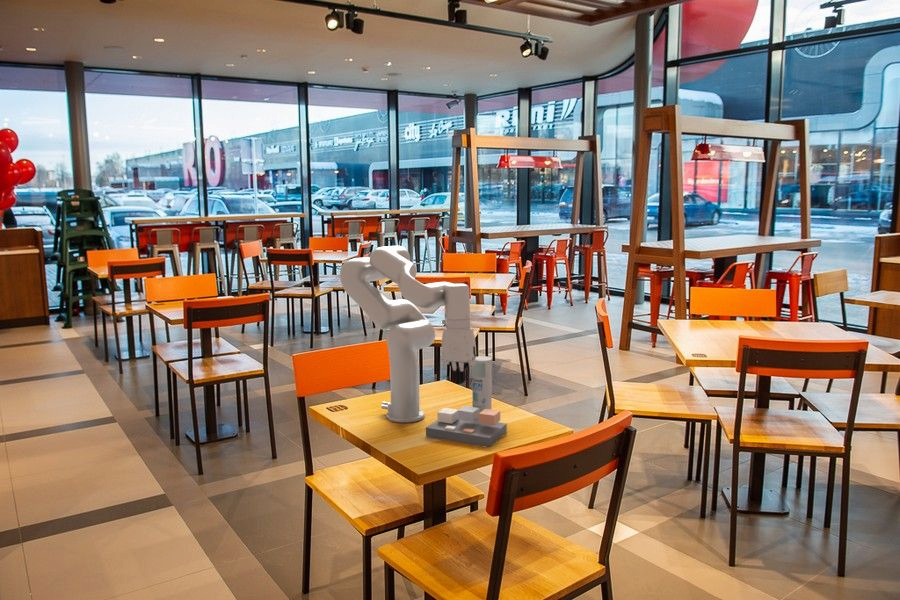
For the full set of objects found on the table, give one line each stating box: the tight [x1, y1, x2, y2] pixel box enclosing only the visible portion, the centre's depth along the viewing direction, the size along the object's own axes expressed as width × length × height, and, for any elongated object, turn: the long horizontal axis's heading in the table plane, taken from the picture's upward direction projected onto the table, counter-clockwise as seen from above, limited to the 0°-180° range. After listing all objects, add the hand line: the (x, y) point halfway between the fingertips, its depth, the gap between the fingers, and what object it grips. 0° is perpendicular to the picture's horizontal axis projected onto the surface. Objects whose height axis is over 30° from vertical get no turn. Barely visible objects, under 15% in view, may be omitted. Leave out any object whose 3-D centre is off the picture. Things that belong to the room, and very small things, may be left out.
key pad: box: [425, 419, 508, 448], centre depth 212 cm, size 21×14×4 cm, turn 64°
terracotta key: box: [479, 409, 501, 425], centre depth 210 cm, size 5×5×3 cm
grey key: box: [457, 405, 479, 422], centre depth 213 cm, size 5×5×3 cm
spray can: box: [471, 355, 493, 419], centre depth 228 cm, size 6×6×20 cm
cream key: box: [436, 407, 459, 424], centre depth 216 cm, size 5×5×3 cm
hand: (460, 382), depth 212 cm, fingers closed
